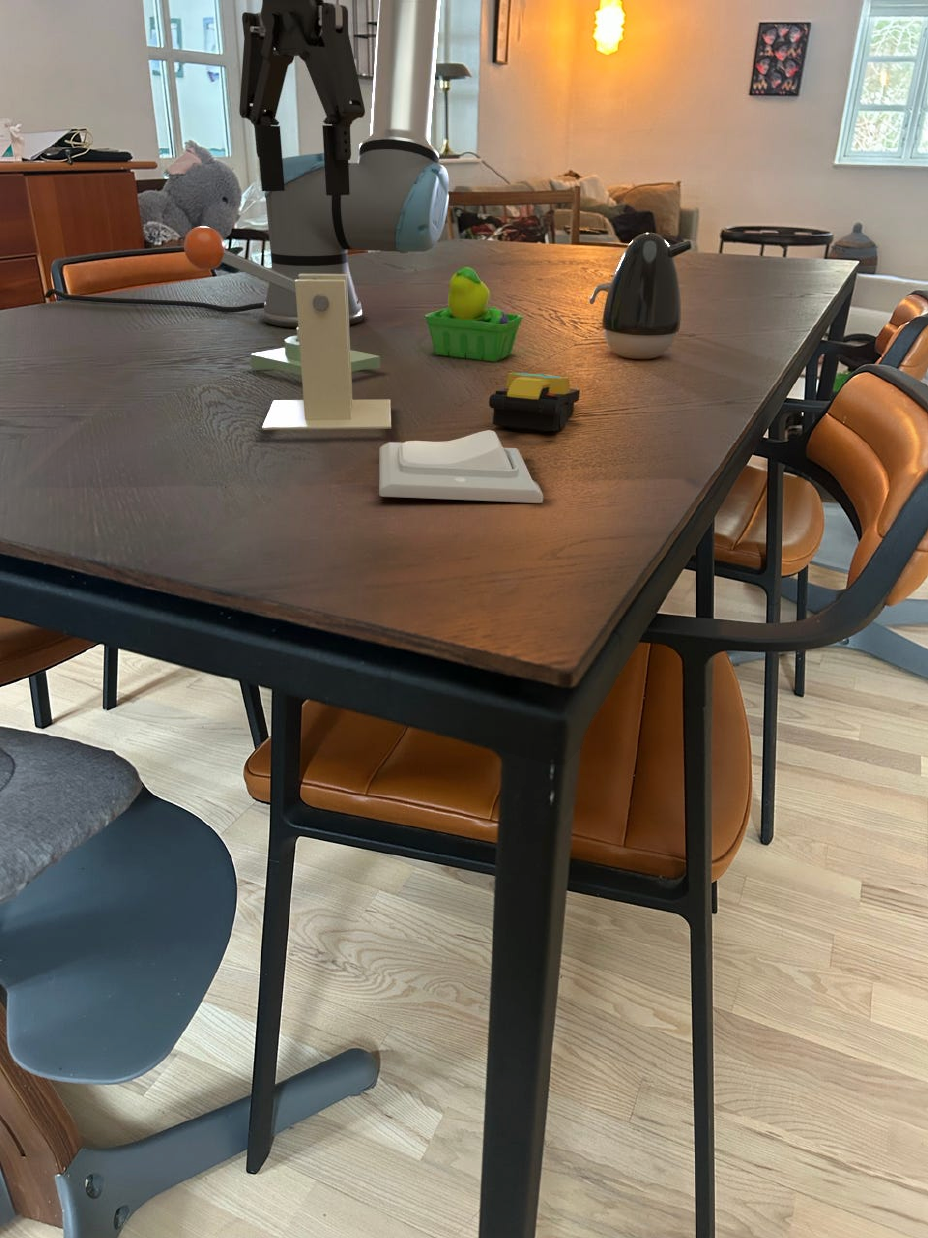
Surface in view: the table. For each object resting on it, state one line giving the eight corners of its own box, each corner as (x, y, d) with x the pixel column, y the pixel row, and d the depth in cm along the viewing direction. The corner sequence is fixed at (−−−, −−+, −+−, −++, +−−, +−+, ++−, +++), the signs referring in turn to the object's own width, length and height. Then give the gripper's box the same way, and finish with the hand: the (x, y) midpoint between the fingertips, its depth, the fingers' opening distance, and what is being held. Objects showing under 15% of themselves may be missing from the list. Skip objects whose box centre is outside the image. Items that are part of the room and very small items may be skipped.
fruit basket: (523, 353, 118) (527, 264, 113) (498, 366, 111) (501, 271, 106) (447, 345, 123) (447, 258, 117) (418, 357, 115) (417, 265, 110)
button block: (252, 372, 107) (248, 338, 105) (314, 359, 113) (312, 327, 112) (318, 388, 100) (315, 352, 98) (380, 374, 107) (379, 340, 105)
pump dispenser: (678, 365, 113) (694, 237, 106) (597, 360, 115) (607, 234, 108) (677, 349, 122) (692, 230, 115) (602, 345, 124) (612, 228, 117)
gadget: (582, 428, 91) (588, 373, 90) (553, 444, 80) (559, 381, 78) (523, 422, 93) (527, 368, 91) (485, 436, 81) (490, 374, 79)
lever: (175, 262, 77) (186, 220, 76) (183, 257, 80) (194, 217, 79) (329, 325, 81) (342, 287, 79) (331, 319, 84) (344, 282, 83)
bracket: (262, 440, 82) (247, 284, 76) (274, 412, 91) (261, 269, 84) (391, 439, 83) (387, 284, 77) (390, 411, 92) (386, 270, 85)
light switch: (548, 461, 67) (380, 453, 66) (542, 511, 69) (378, 505, 68) (527, 421, 77) (380, 414, 75) (522, 467, 79) (378, 460, 77)
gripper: (188, -50, 91) (214, 189, 101) (338, -80, 78) (350, 198, 88) (247, -39, 96) (266, 187, 106) (397, -65, 83) (402, 196, 93)
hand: (304, 192), depth 97 cm, fingers open, 10 cm apart
